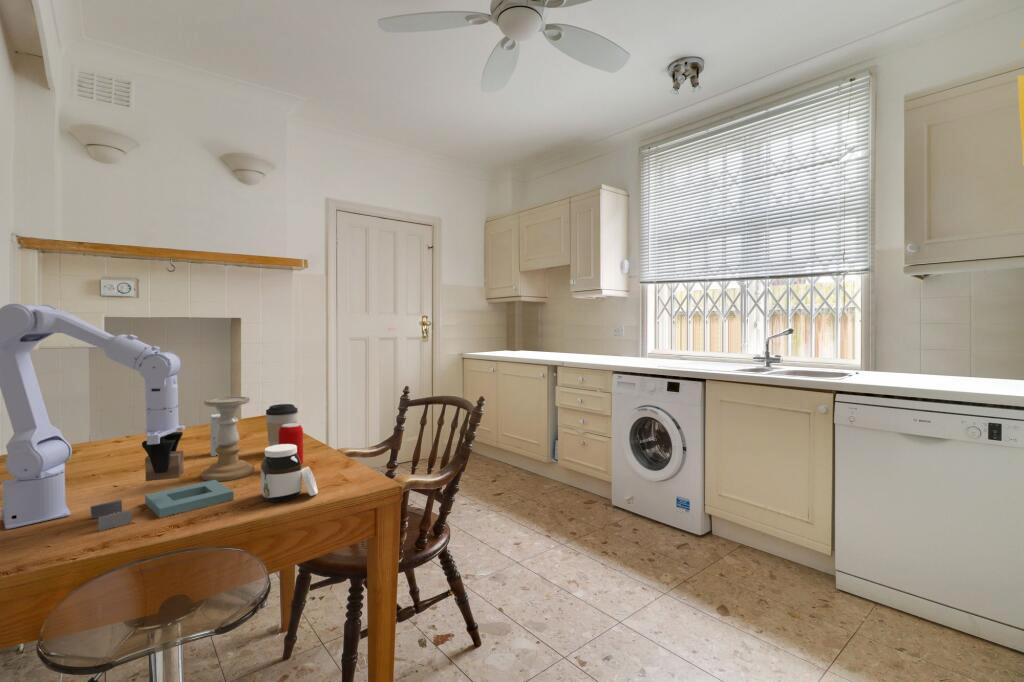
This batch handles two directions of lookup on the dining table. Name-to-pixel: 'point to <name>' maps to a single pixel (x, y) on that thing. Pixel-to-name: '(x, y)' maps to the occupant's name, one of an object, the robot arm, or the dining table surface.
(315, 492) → the spread jar
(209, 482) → the socket board
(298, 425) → the beverage can
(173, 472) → the walnut block
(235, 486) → the dining table surface
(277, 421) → the coffee cup
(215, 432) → the skincare box
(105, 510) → the metal stand
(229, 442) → the candle holder
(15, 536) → the dining table surface
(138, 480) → the dining table surface
